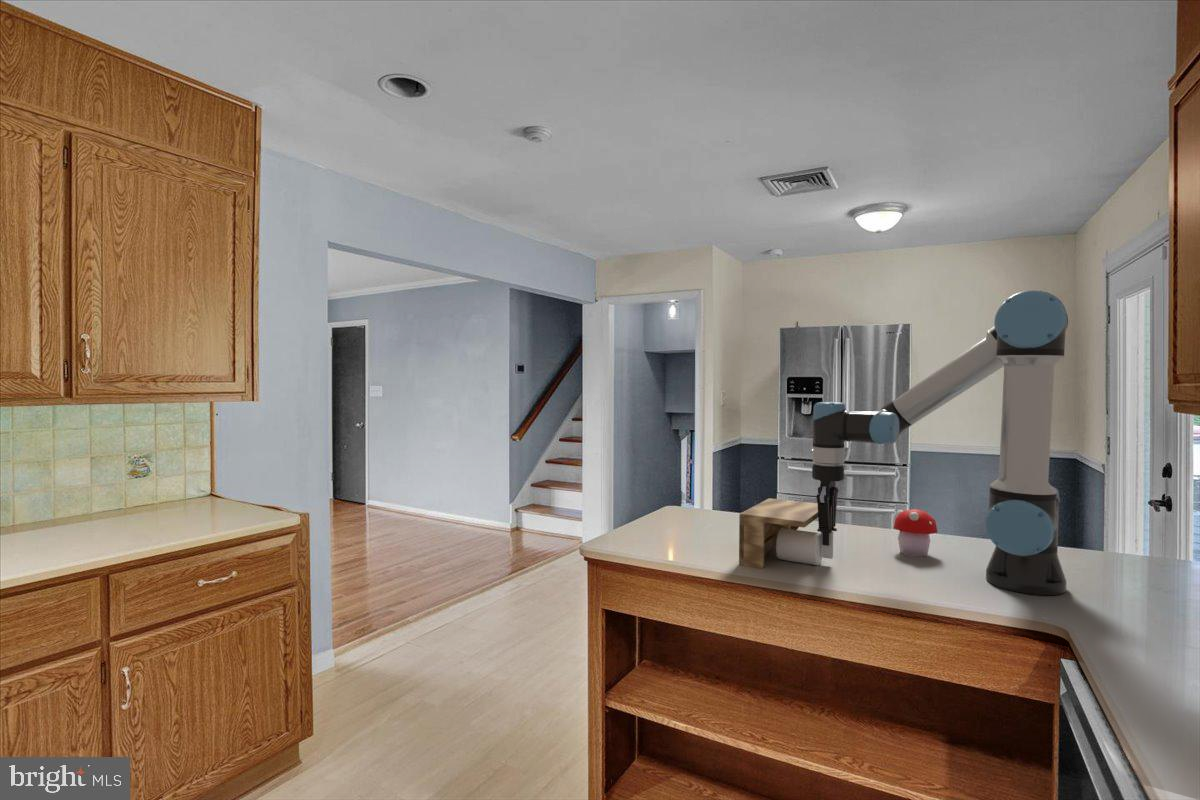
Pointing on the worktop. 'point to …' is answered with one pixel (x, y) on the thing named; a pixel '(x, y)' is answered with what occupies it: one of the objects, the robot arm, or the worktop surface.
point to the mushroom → (914, 531)
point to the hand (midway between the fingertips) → (826, 557)
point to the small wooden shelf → (769, 526)
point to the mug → (799, 546)
